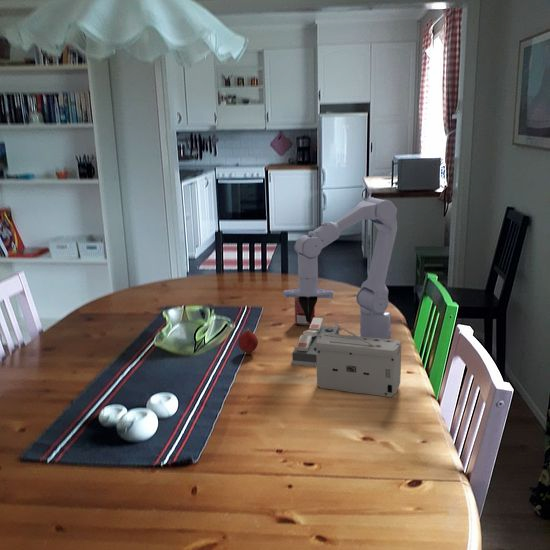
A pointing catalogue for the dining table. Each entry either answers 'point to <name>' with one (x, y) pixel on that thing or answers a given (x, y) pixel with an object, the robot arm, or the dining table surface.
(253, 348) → the onion
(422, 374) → the dining table surface
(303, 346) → the rocker
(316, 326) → the rocker
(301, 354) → the power strip
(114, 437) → the dining table surface
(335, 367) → the stereo radio cassette player
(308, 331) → the rocker middle
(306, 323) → the soda can
